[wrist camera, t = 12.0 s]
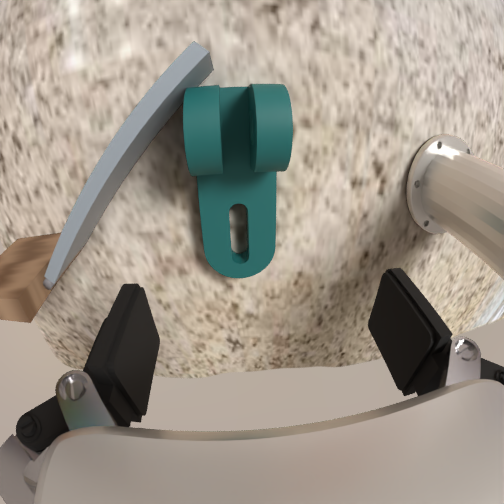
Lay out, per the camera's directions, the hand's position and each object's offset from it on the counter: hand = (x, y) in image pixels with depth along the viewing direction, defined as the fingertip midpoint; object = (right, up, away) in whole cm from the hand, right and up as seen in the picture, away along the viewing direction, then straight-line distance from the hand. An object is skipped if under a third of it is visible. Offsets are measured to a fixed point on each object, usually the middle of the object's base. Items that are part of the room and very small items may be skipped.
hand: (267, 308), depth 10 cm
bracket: (-2, +9, +15) cm, 18 cm away
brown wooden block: (-25, +3, +15) cm, 29 cm away
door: (-12, +10, +12) cm, 20 cm away
